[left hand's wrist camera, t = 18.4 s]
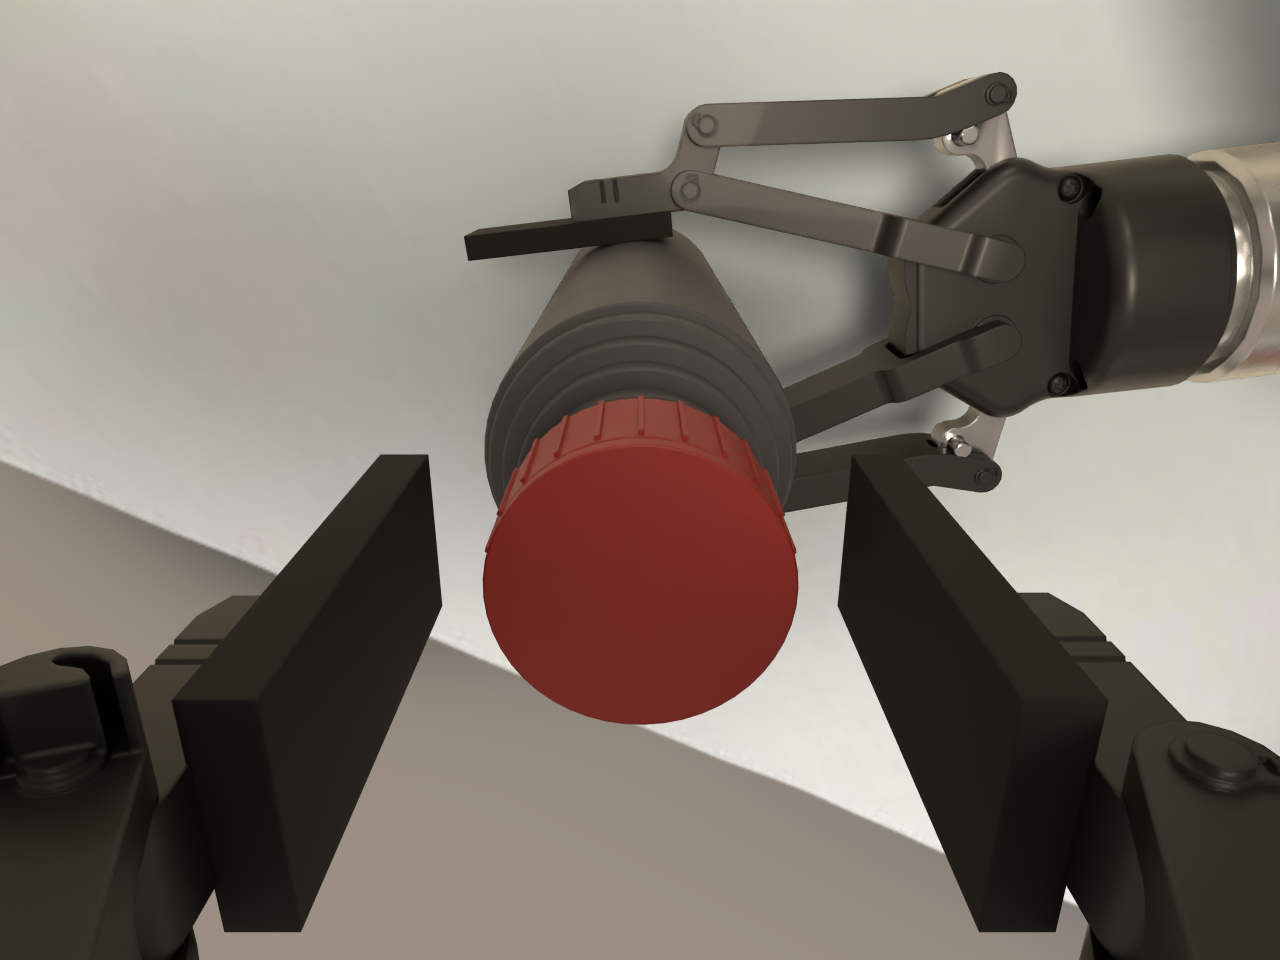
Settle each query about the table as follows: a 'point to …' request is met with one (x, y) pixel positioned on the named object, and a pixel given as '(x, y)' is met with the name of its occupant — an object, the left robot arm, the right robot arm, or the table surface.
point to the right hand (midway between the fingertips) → (493, 349)
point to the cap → (640, 564)
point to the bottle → (640, 356)
